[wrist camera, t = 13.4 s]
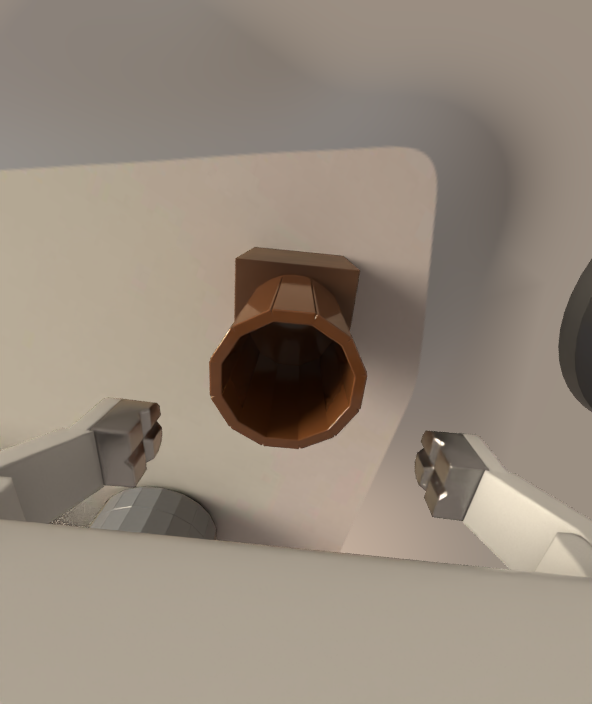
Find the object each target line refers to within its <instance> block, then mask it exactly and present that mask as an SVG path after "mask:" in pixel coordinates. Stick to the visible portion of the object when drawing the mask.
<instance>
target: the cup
mask: <svg viewBox="0 0 592 704" xmlns="http://www.w3.org/2000/svg"><path fill="white" fill-rule="evenodd" d="M209 374H210V396H211V399H212V401H213V402H214V404H215V405H216V407H217V408H218V410H219V411H220V413H221V415H222V416H223V418H224V419H225V421H226V422H227V424H228V425H229V426H231V428H232V429H233V430H235V431H237V432H239V433H241V434H242V435H244V436H246V437H248V438H249V439H251V440H253V441H255V442H257V443H258V444H260V445H262V444H263V445H264V446H270V447H281V448H293V449H299V448H305V447H307V446H310V445H313V444H316V443H319V442H322V441H324V440H327V439H330V438H333V437H334V435H335V436H336V435H337V434H338V433H339V432H340V431H341V430H342V429H343V428H344V427H345V426H346V425H347V424H348V423H349V421H350V420H351V419H352V418H353V417H354V416H355V415H356V414H357V413H358V412H359V409H360V408H361V404H362V399H363V394H364V389H365V385H366V380H367V371H366V369H365V367H364V364H363V362H362V359H361V357H360V354H359V352H358V350H357V347H356V345H355V342H354V340H353V338H352V335H351V333H350V331H349V328H348V326H347V324H346V321H345V319H344V317H343V314H342V312H341V310H340V307H339V305H338V303H337V301H336V298H335V296H334V295H333V293H331V292H330V291H329V290H328V289H327V288H326V287H325V286H323V285H322V284H321V283H319V282H317V281H316V280H314V279H311V278H309V277H305V276H300V275H283V276H279V277H276V278H273V279H271V280H269V281H267V282H265V283H264V284H262V285H260V286H258V288H256V290H255V291H254V293H253V294H252V296H251V297H250V299H249V300H248V302H247V303H246V305H245V306H244V308H243V309H242V311H241V312H240V314H239V315H238V317H237V318H236V320H235V321H234V323H233V324H232V326H231V327H230V329H229V330H228V332H227V333H226V335H225V336H224V338H223V340H222V341H221V343H220V344H219V346H218V347H217V349H216V350H215V352H214V353H213V355H212V356H211V358H210V361H209Z"/></svg>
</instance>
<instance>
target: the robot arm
mask: <svg viewBox="0 0 592 704" xmlns="http://www.w3.org/2000/svg"><path fill="white" fill-rule="evenodd" d="M160 416H161V413H160V406H159V405H158V404H157V403H153V402H145V401H137V400H129V399H121V398H110V397H108V398H104V399H102V400H101V401H100V402H99V403H98V404H97V405H95V406H94V407H93V408H92V409H91V410H89V411H88V412H87V413H86V414H85V415H84V416H82V417H81V418H80V419H79V420H78V421H77V422H75V423H74V424H73V425H72V426H71V427H69V428H61V429H58V430H55V431H53V432H50V433H47V434H44V435H42V436H39V437H36V438H33V439H31V440H28V441H25V442H22V443H20V444H17V445H14V446H11V447H9V448H6V449H3V450H0V704H592V520H591V519H590V518H588V517H586V516H585V515H583V514H581V513H579V512H578V511H576V510H575V509H573V508H572V507H570V506H568V505H566V504H565V503H563V502H562V501H560V500H558V499H557V498H555V497H553V496H552V495H550V494H548V493H547V492H545V491H543V490H542V489H540V488H538V487H537V486H535V485H534V484H532V483H530V482H528V481H527V480H525V479H524V478H522V477H520V476H519V475H517V474H515V473H509V471H508V470H507V469H506V468H505V466H504V465H503V464H502V463H501V462H500V460H499V459H498V458H497V457H496V455H495V454H494V453H493V452H492V450H491V449H490V448H489V447H488V446H487V444H486V443H485V442H484V441H483V440H482V438H481V437H480V436H478V435H476V434H464V433H448V432H436V431H425V433H424V434H423V436H422V439H421V443H422V445H423V447H424V448H423V449H422V450H421V451H419V452H418V453H417V455H416V459H415V475H416V479H417V482H418V484H419V486H421V487H422V488H423V489H424V490H425V491H426V493H425V496H424V499H425V501H426V503H427V506H428V508H429V510H430V513H431V515H432V517H436V518H443V519H451V520H459V521H463V523H464V524H465V525H466V526H467V527H468V528H469V529H470V530H471V531H472V532H473V533H474V534H475V535H476V536H477V537H478V538H479V539H480V540H481V541H482V542H483V543H484V544H485V545H486V546H487V547H488V548H489V549H490V550H491V551H492V552H493V553H494V554H495V555H496V556H497V557H498V558H499V559H500V560H501V561H502V562H503V563H504V564H505V565H506V566H507V567H508V568H509V569H500V568H490V567H479V566H468V565H458V564H448V563H438V562H428V561H419V560H409V559H399V558H389V557H379V556H369V555H360V554H350V553H340V552H330V551H320V550H310V549H300V548H290V547H279V546H269V545H259V544H249V543H239V542H229V541H219V540H209V539H198V538H188V537H178V536H168V535H158V534H148V533H138V532H128V531H118V530H108V529H98V528H88V527H78V526H68V525H58V524H49V523H51V522H52V521H54V520H55V519H57V518H58V517H60V516H61V515H62V514H64V513H65V512H67V511H68V510H70V509H71V508H73V507H74V506H76V505H77V504H79V503H80V502H82V501H83V500H85V499H86V498H88V497H89V496H91V495H92V494H94V493H95V492H97V491H98V490H100V489H101V488H103V487H104V485H110V486H124V487H136V485H137V484H138V482H139V480H140V479H141V477H142V476H143V474H144V473H145V471H146V470H147V467H146V463H147V462H148V461H150V460H152V459H154V458H155V456H156V454H157V453H158V451H159V448H160V445H161V442H162V427H161V426H160V425H159V423H158V422H157V420H158V418H159V417H160Z"/></svg>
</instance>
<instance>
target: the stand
mask: <svg viewBox="0 0 592 704" xmlns="http://www.w3.org/2000/svg"><path fill="white" fill-rule="evenodd" d="M283 275H300V276H305V277H309V278H311V279H314V280H316V281H317V282H319V283H321V284H322V285H323V286H325V287H326V288H327V289H328V290H329V291H330V292H331V293H333V295H334V296H335V298H336V301H337V303H338V305H339V307H340V310H341V312H342V314H343V317H344V319H345V321H346V324H347V326H348V328H349V331H350V327H351V321H352V316H353V310H354V304H355V298H356V292H357V286H358V281H359V275H360V270H359V269H358V268H356V267H355V266H354V265H353V264H352V263H351V262H350V261H348V260H347V259H346V258H345V257H344V256H339V255H329V254H319V253H309V252H299V251H289V250H279V249H269V248H259V247H254V248H252V249H251V250H249V251H247V252H246V253H244V254H242V255H240V256H239V257H237V258H236V260H235V319H234V321H235V320H236V318H237V317H238V315H239V314H240V312H241V311H242V309H243V308H244V306H245V305H246V303H247V302H248V300H249V299H250V297H251V296H252V294H253V293H254V291H255V290H256V288H258V286H260V285H262V284H264V283H265V282H267V281H269V280H271V279H273V278H276V277H279V276H283Z"/></svg>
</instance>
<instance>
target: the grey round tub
mask: <svg viewBox="0 0 592 704" xmlns="http://www.w3.org/2000/svg"><path fill="white" fill-rule="evenodd" d="M88 528H98V529H108V530H118V531H128V532H138V533H148V534H158V535H168V536H178V537H188V538H198V539H209V540H216V527H215V525H214V522H213V520H212V518H211V516H210V515H209V514H208V513H207V512H206V511H205V509H204V508H203V507H202V506H201V505H200V504H199V503H197V502H195V501H194V500H192V499H190V498H189V497H187V496H185V495H184V494H181V493H178V492H175V491H172V490H168V489H165V488H156V487H138V488H132V489H126V490H124V491H122V492H120V493H118V494H116V495H114V496H112V497H111V498H110V499H109V500H108V501H107V502H106V503H105V504H104V505H103V507H102V508H101V509H100V511H99V512H98V514H97V515H96V517H95V518H94V520H93V521H92V522H91V524H90V525H89V527H88Z"/></svg>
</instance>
